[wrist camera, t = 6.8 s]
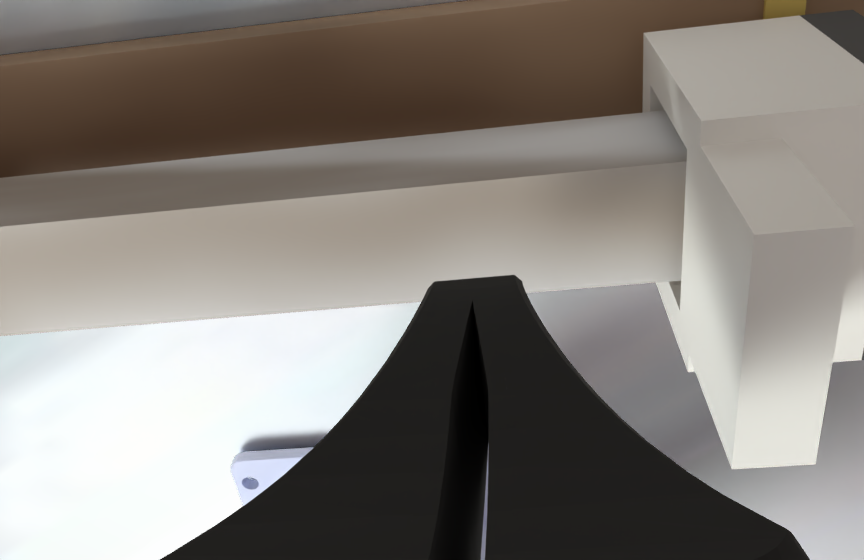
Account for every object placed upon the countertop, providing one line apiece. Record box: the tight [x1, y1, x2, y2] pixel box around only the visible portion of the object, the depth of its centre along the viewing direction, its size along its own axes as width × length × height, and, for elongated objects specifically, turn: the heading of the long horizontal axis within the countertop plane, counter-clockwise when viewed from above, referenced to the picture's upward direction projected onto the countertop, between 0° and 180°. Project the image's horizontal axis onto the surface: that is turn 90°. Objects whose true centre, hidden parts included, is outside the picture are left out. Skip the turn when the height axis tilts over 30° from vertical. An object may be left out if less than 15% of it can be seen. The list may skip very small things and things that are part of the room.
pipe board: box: [0, 0, 864, 336], centre depth 17 cm, size 6×25×5 cm, turn 97°
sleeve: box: [642, 15, 864, 469], centre depth 14 cm, size 5×3×8 cm, turn 7°
